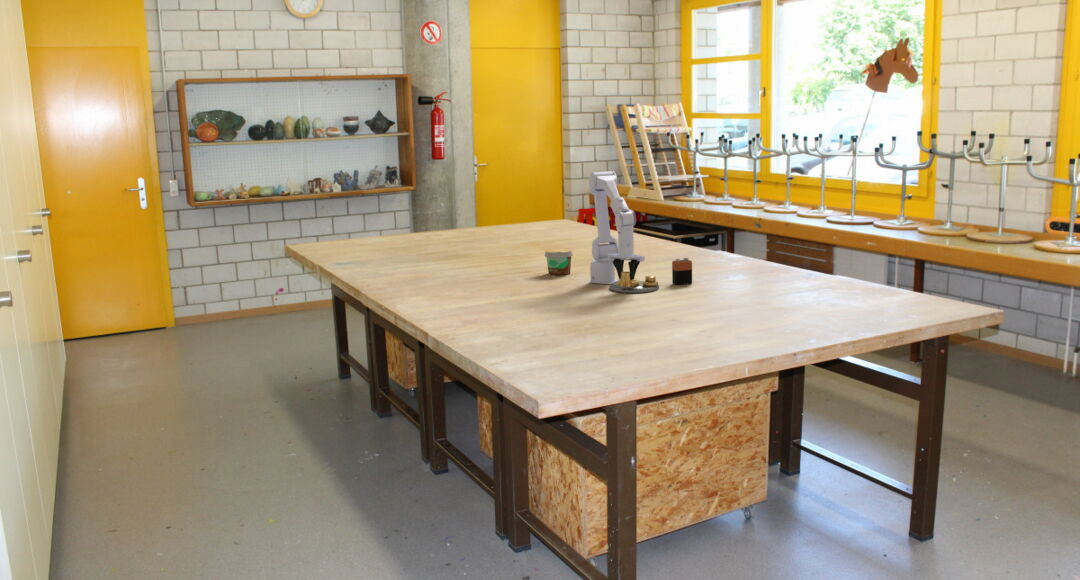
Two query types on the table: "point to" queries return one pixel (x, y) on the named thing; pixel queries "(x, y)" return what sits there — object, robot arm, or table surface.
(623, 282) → the planet gear
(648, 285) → the carrier
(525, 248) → the table surface
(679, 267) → the battery
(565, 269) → the food container
